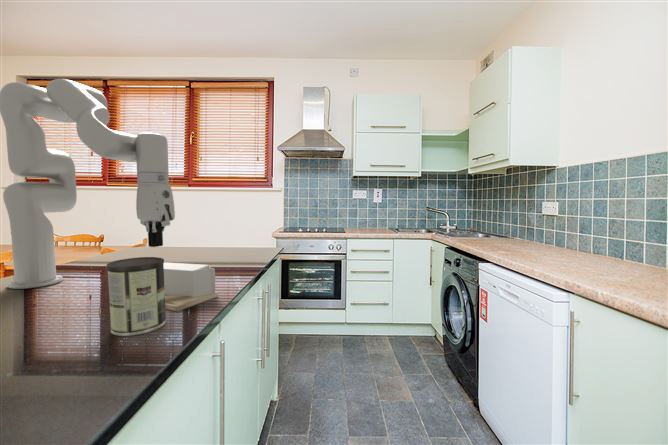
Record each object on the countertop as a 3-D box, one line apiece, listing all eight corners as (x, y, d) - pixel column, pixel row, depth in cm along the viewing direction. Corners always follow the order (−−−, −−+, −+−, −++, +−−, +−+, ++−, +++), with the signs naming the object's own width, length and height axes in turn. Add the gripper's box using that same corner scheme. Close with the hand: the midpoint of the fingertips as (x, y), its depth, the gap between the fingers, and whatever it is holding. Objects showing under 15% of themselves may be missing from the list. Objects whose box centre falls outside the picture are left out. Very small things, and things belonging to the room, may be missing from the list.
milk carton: (146, 293, 86) (207, 298, 82) (144, 267, 86) (206, 271, 82) (165, 285, 93) (222, 290, 89) (164, 262, 93) (221, 265, 88)
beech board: (115, 297, 86) (115, 292, 86) (159, 285, 98) (159, 281, 98) (177, 311, 76) (177, 306, 76) (217, 296, 88) (217, 291, 88)
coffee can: (142, 314, 74) (140, 255, 73) (177, 320, 71) (175, 258, 70) (97, 332, 64) (93, 264, 63) (134, 340, 61) (131, 268, 60)
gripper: (184, 180, 86) (186, 246, 88) (148, 180, 93) (150, 242, 94) (159, 178, 80) (161, 250, 81) (122, 179, 86) (125, 246, 87)
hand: (155, 246), depth 88 cm, fingers closed
